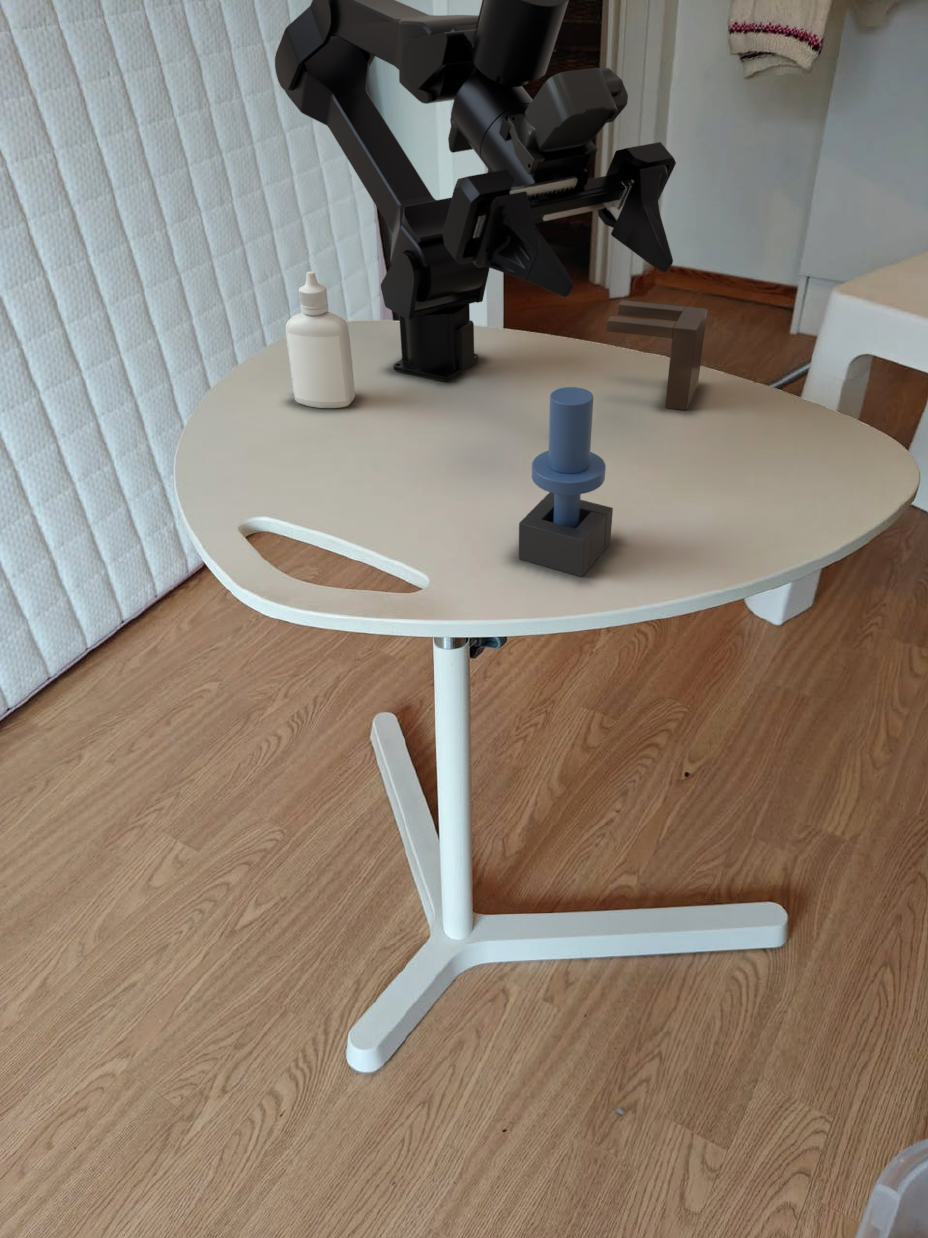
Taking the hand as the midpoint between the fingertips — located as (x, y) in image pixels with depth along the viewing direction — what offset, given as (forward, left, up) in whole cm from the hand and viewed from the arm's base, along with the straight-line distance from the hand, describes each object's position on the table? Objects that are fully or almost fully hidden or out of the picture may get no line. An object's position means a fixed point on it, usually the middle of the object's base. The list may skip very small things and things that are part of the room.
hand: (621, 279), depth 71 cm
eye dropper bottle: (-29, +1, -16) cm, 33 cm away
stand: (-2, +16, -16) cm, 22 cm away
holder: (+2, -12, -16) cm, 20 cm away
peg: (+2, -12, -16) cm, 20 cm away
